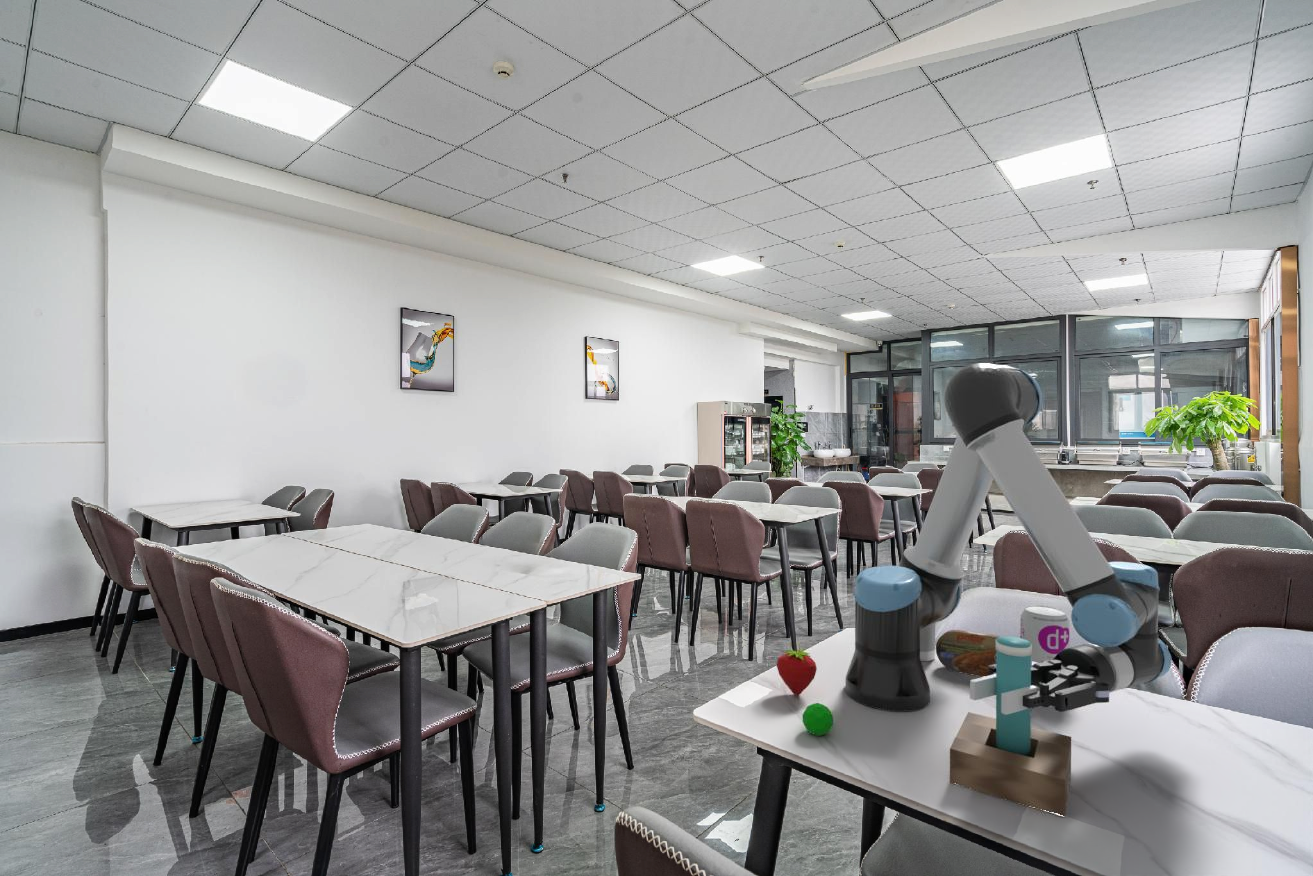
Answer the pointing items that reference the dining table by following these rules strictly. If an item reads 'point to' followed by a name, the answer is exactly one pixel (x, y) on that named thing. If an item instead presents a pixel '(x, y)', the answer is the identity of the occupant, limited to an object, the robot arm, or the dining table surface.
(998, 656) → the peg
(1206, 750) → the dining table surface
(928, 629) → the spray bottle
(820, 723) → the polyhedron
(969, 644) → the tin
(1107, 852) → the dining table surface
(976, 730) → the socket block
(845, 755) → the dining table surface
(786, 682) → the strawberry
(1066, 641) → the supplement can
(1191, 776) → the dining table surface
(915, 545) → the robot arm
